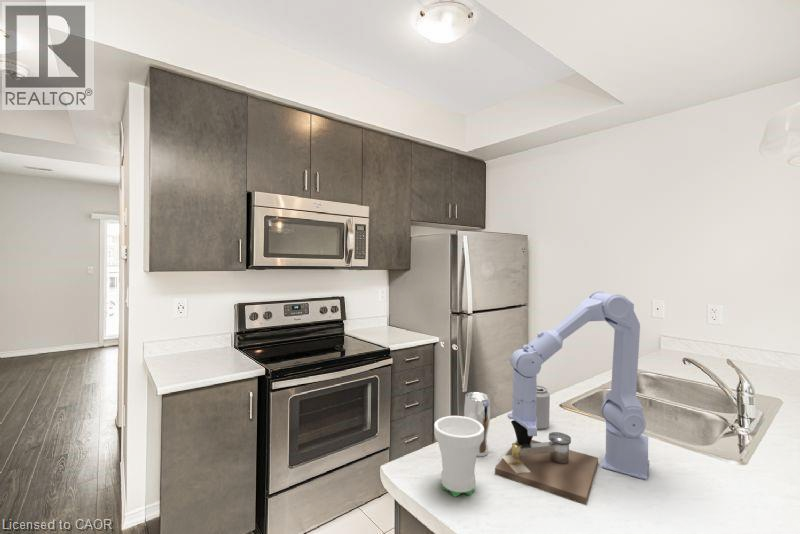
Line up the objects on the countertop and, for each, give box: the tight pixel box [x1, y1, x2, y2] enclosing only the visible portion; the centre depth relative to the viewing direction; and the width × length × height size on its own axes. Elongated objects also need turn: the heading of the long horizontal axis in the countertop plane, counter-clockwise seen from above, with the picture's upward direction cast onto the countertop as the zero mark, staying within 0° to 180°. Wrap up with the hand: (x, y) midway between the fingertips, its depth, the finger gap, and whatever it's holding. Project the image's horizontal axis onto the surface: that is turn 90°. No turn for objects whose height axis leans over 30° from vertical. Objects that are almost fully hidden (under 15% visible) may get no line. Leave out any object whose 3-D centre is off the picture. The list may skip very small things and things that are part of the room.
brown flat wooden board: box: [494, 439, 599, 506], centre depth 95 cm, size 21×20×2 cm
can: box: [536, 384, 551, 430], centre depth 119 cm, size 8×8×12 cm
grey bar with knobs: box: [511, 431, 572, 463], centre depth 95 cm, size 16×5×6 cm, turn 102°
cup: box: [433, 415, 484, 497], centre depth 86 cm, size 11×11×14 cm
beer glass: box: [463, 391, 492, 458], centre depth 103 cm, size 7×7×15 cm
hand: (523, 451), depth 96 cm, fingers closed
